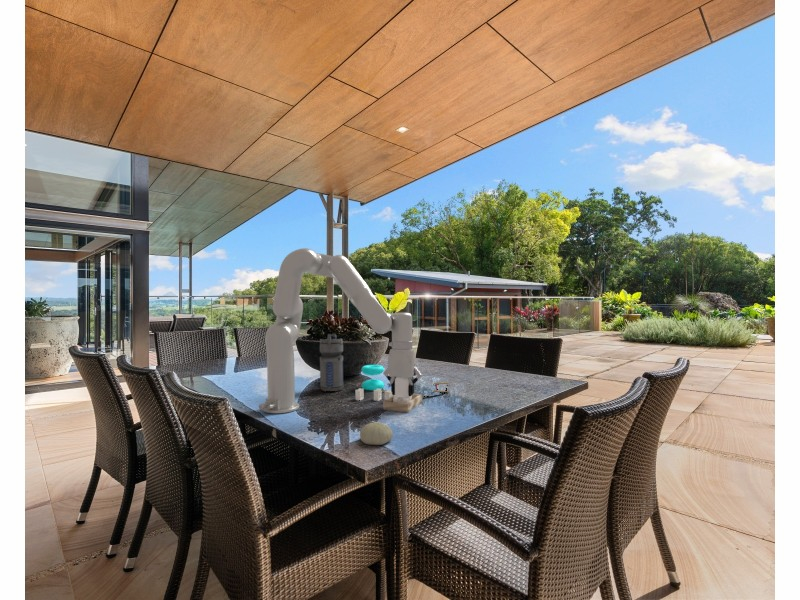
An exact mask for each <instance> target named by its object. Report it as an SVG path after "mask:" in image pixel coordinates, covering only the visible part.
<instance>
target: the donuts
mask: <svg viewBox="0 0 800 600" xmlns="http://www.w3.org/2000/svg"><path fill="white" fill-rule="evenodd" d="M384 371H385V368H384V366H383V365H381V364H367V365H363V366H362V367H361V372H362V373H363V375H366V376H378V375H381V374H383V372H384ZM384 386H385V383H384V381H382V380H380V379H375V378H374V379H373V378H372V379H366V380H364V381H362V383H361V389H364V391H365V390H366V391H374V390H376V389H383V388H384Z"/></svg>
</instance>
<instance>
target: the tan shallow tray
mask: <svg viewBox="0 0 800 600" xmlns="http://www.w3.org/2000/svg"><path fill="white" fill-rule="evenodd" d="M422 396H423V394H422V393H421V394H419V393H413V395H412V399H411V400H410V401H409V402H408V403H403V402H393V398H394V397H395V394H394V395H393V396H392V397H390V398H388V399H387V400H385V399H384V400H383V401H382V410H383V411H390V412H398V413H399V412H401V413H409V412H411V411H413V410H414V408H417V407H418V406H419V405H421V404H422V403H423V398H422Z"/></svg>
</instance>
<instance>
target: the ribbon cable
mask: <svg viewBox="0 0 800 600" xmlns="http://www.w3.org/2000/svg"><path fill="white" fill-rule="evenodd" d="M434 384H436V385H435V386H436V388H437V385H439V384H449V385H450V383H449V382H434V383H433V385H434ZM386 385H387V387H388V389H389V388H390V389H391V383H390V382H389V383H387V384H386ZM388 389H387V390H388ZM387 390H382V392H383V393H385V391H387ZM433 392H441V393H444V392H447V393H449V392H450V393H451V391H450V390H448V391H443V390H442V391H437V389H436V390H433V391H432V393H433ZM441 393H439V394H433V395H434V396H433V395H430V396H429V397H422V399H426V398H431V397H436V396H435V395H437V397H439V395H440V396H441ZM447 393H446V394H447ZM450 393H449V394H450Z"/></svg>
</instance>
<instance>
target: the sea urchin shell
mask: <svg viewBox="0 0 800 600" xmlns="http://www.w3.org/2000/svg"><path fill="white" fill-rule="evenodd" d="M393 435H394V433H393V430H392V428H391V427H390V426H389V425H387V424H384V423H381V422H375V421H374V422H369V423H367V424H365V425H364V426H362V428H361V429H360V432H359V438H360V441H361V442H362V443H364V444H365V445H370V446H371V445H372V446H373V445H374V446H381V445H384V444H387V443H388V442H390V441H391V440H392V439H393Z"/></svg>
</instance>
